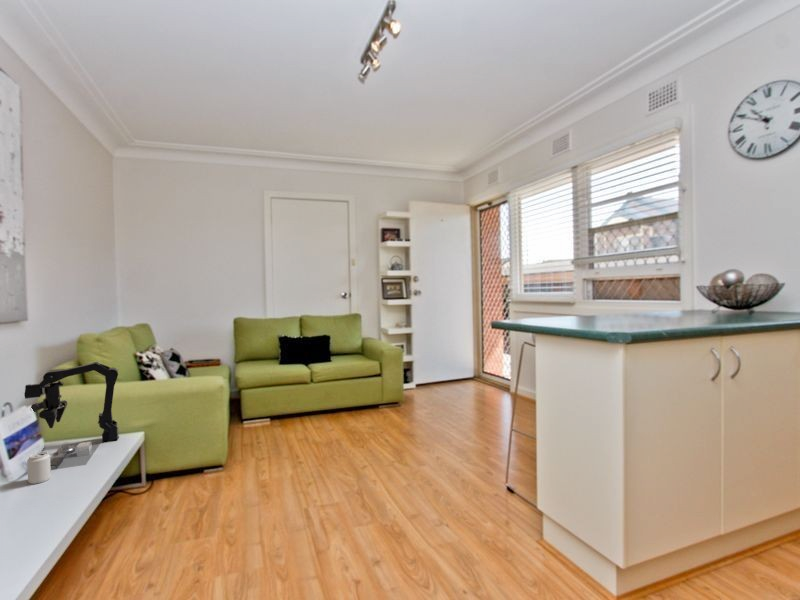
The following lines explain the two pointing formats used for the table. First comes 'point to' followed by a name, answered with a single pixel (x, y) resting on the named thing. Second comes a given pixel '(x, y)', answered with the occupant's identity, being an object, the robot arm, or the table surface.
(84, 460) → the mat
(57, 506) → the table surface
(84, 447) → the socket
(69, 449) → the ratchet
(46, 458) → the can
